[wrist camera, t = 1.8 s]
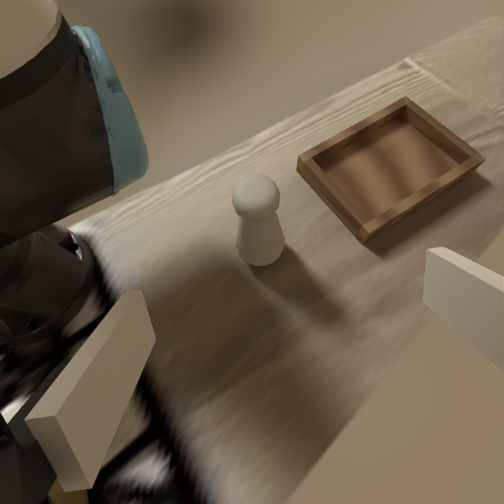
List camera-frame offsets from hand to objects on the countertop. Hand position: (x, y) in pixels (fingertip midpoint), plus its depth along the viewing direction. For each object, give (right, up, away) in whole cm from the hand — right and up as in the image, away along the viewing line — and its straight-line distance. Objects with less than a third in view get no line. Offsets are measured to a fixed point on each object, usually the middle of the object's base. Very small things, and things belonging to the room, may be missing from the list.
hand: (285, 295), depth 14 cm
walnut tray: (+17, +13, +27) cm, 34 cm away
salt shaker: (0, +2, +24) cm, 24 cm away
